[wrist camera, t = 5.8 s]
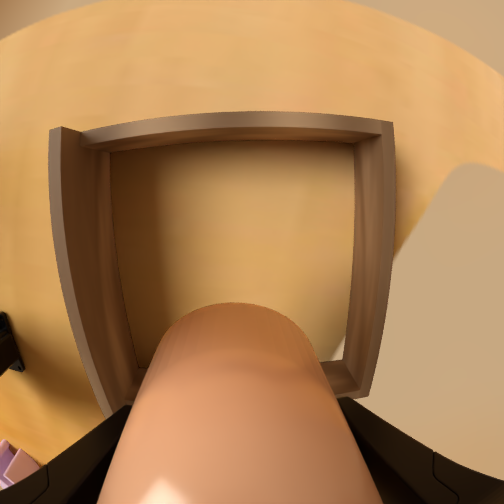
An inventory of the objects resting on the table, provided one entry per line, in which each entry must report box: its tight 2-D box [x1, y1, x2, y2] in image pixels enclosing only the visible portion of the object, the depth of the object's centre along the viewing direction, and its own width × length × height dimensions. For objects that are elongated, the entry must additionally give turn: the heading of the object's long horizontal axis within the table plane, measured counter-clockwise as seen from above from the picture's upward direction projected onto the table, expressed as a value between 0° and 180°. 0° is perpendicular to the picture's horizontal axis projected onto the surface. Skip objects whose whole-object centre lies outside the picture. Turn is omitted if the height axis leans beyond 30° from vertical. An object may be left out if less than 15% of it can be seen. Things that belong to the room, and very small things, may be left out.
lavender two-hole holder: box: [0, 439, 40, 489], centre depth 22 cm, size 20×12×7 cm, turn 173°
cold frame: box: [48, 111, 396, 419], centre depth 15 cm, size 18×18×6 cm
